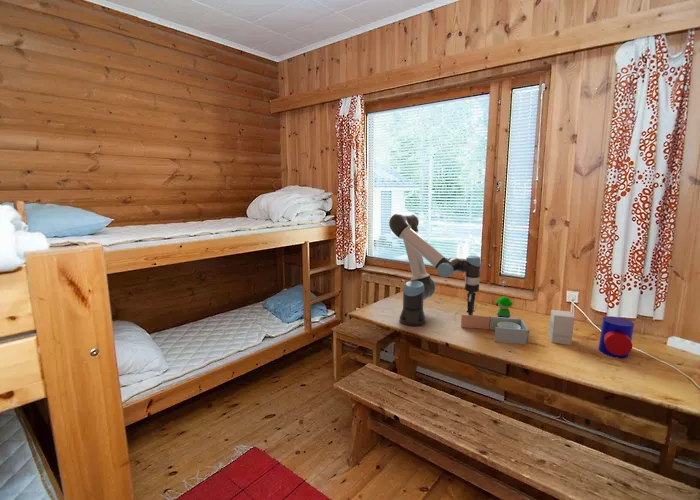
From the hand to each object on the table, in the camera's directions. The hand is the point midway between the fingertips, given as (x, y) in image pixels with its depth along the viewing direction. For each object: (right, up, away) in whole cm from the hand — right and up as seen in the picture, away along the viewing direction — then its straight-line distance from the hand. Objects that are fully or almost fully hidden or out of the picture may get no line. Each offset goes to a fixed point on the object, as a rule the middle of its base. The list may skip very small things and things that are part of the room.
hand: (469, 322), depth 204 cm
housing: (+15, -4, -14) cm, 21 cm away
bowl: (+16, -5, -14) cm, 22 cm away
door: (+2, -2, -3) cm, 4 cm away
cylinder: (+59, -8, -32) cm, 67 cm away
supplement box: (+40, -6, -19) cm, 45 cm away
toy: (+22, 0, +6) cm, 23 cm away
